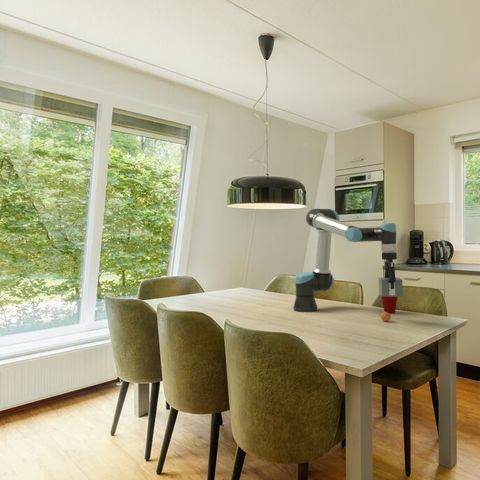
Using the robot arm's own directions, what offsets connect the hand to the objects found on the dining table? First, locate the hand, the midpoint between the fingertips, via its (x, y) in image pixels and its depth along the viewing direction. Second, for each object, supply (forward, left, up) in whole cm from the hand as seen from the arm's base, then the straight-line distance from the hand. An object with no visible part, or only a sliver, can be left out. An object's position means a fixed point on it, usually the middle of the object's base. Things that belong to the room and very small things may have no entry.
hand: (390, 293), depth 199 cm
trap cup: (0, 0, -1) cm, 1 cm away
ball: (-3, 0, -12) cm, 13 cm away
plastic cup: (+4, +25, -15) cm, 29 cm away
